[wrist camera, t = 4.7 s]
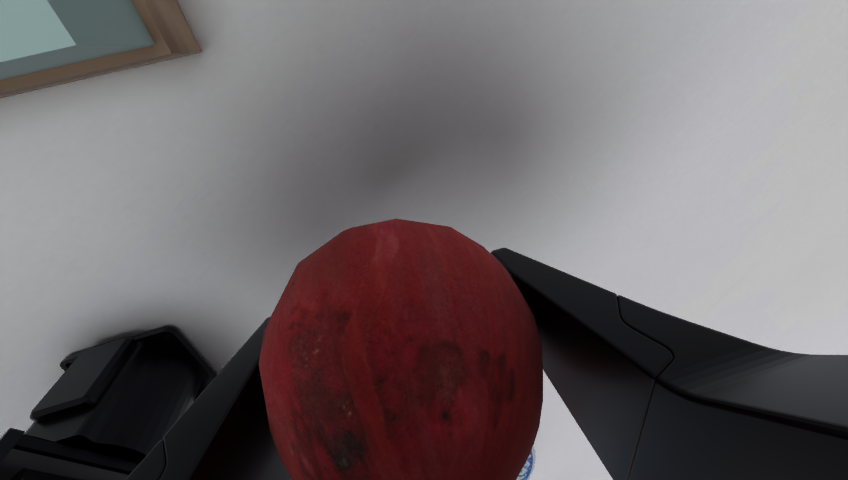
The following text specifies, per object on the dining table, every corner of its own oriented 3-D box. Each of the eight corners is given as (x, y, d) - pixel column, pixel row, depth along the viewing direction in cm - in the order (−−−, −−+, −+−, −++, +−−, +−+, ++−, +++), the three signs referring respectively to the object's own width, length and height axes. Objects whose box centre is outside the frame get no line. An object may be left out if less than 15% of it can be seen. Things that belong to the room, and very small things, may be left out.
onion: (244, 254, 10) (2, 764, 3) (404, 128, 9) (615, 421, 2) (373, 351, 13) (408, 711, 6) (502, 265, 12) (718, 567, 5)
